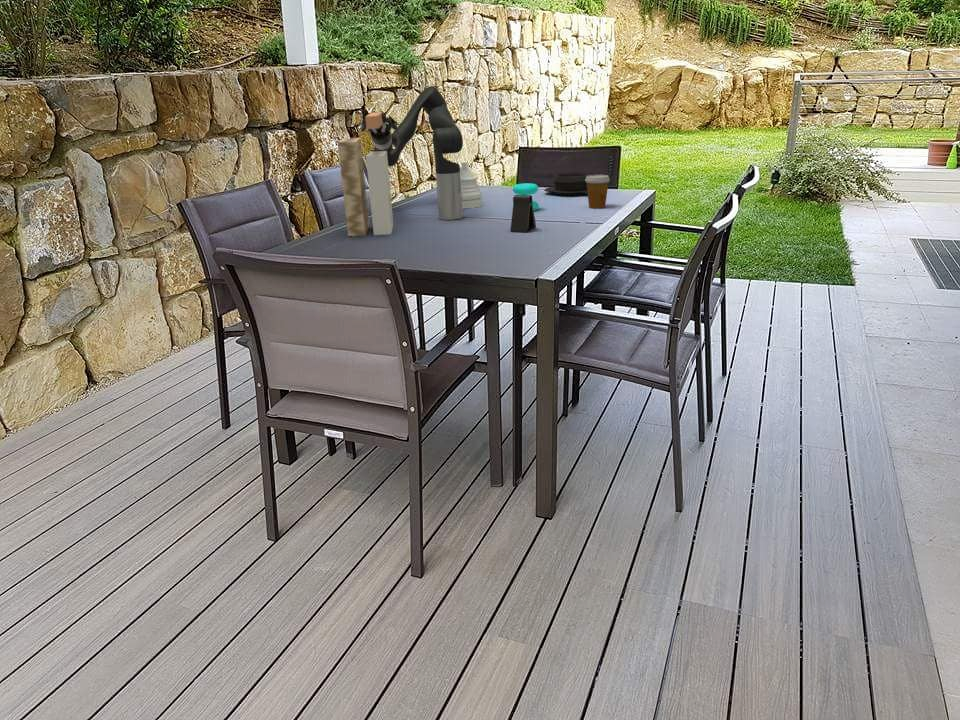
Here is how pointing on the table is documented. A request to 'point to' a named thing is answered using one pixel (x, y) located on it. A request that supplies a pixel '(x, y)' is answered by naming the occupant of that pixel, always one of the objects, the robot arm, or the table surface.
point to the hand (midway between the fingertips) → (376, 114)
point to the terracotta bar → (374, 120)
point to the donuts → (527, 191)
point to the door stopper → (522, 214)
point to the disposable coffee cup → (597, 190)
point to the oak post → (353, 186)
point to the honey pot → (469, 188)
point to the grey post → (380, 192)
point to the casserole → (569, 184)
